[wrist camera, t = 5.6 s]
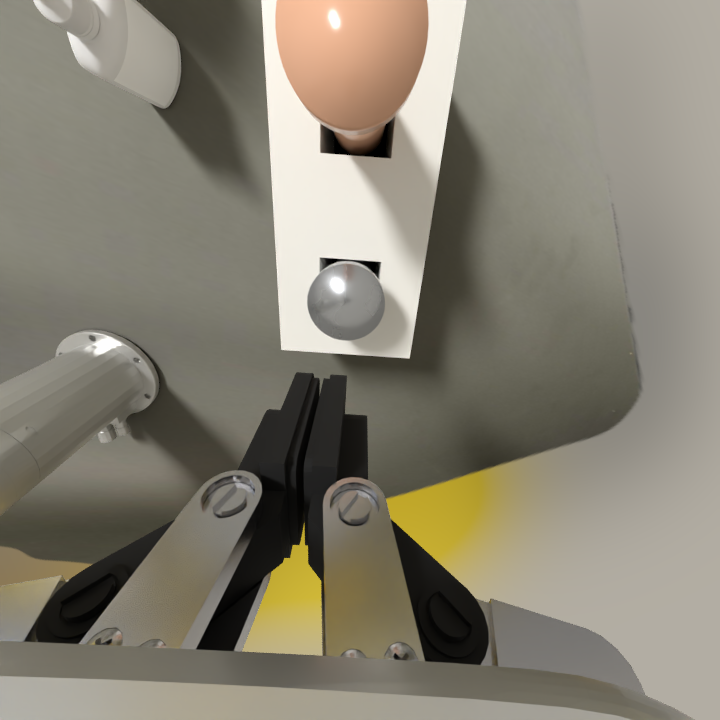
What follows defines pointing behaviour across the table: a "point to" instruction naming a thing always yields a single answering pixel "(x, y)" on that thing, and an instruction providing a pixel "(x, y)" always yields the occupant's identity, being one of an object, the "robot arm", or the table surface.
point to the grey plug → (346, 300)
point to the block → (358, 194)
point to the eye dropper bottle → (121, 45)
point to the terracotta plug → (352, 62)
